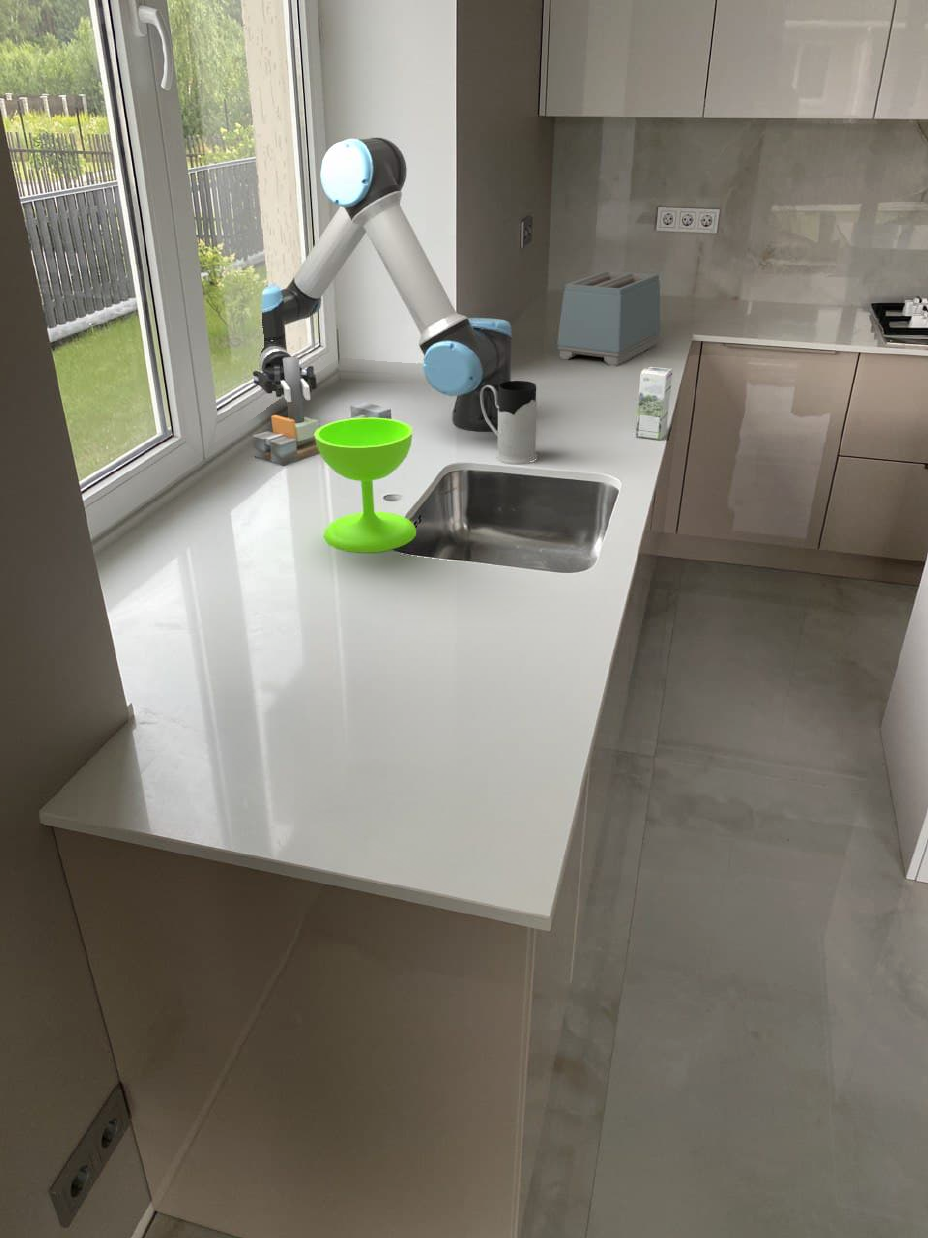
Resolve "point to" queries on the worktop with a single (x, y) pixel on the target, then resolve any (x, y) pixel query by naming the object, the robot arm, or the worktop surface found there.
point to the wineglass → (366, 480)
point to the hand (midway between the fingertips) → (298, 394)
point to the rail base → (293, 450)
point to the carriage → (297, 400)
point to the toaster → (610, 316)
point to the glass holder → (515, 421)
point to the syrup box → (653, 403)
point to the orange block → (282, 428)
